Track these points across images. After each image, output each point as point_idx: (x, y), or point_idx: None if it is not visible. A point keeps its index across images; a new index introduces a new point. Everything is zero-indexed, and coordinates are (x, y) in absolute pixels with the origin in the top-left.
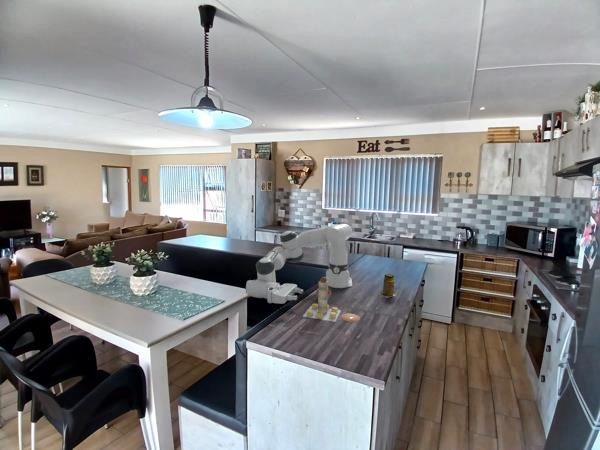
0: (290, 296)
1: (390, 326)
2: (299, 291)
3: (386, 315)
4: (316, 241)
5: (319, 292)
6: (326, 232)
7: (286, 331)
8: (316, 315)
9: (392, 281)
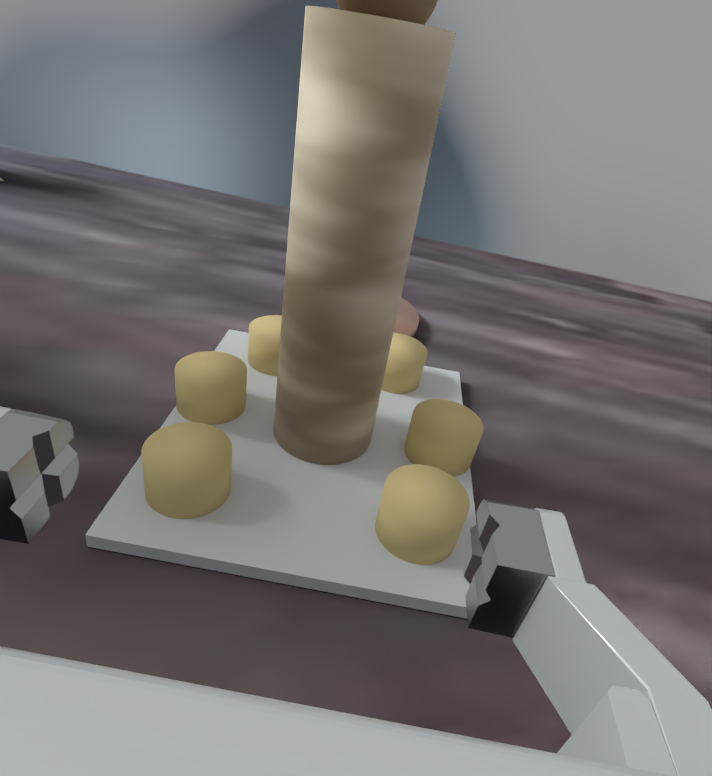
0: (660, 654)
1: None
2: (25, 493)
3: (264, 226)
4: None
5: (409, 202)
6: None
7: None
8: (467, 452)
9: None
